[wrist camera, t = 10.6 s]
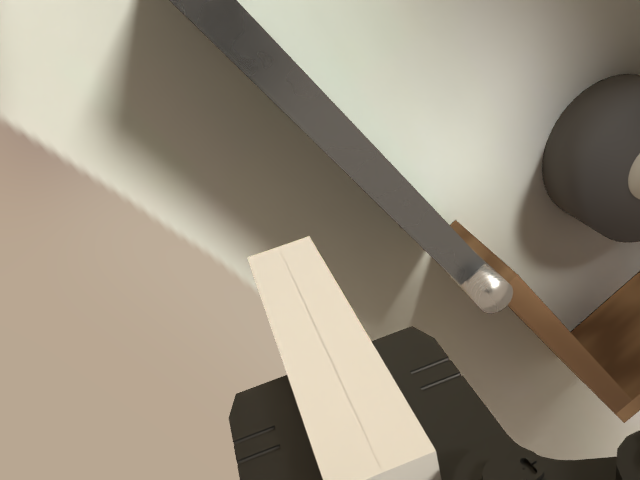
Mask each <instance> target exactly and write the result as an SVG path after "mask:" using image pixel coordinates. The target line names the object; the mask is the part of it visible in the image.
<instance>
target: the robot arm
mask: <svg viewBox="0 0 640 480" xmlns="http://www.w3.org/2000/svg"><path fill="white" fill-rule="evenodd" d="M247 259H248V261H249V264H250V267H251V270H252V273H253V276H254V279H255V282H256V285H257V288H258V291H259V294H260V297H261V300H262V302H263V305H264V308H265V311H266V314H267V317H268V320H269V323H270V326H271V329H272V332H273V335H274V338H275V340H276V344H277V346H278V349H279V352H280V355H281V358H282V361H283V364H284V367H285V370H286V373H287V375H286V376H283V377H280V378H278V379H275V380H272V381H270V382H267V383H264V384H261V385H259V386H256V387H254V388H251V389H248V390H246V391H243V392H240V393H237V394H236V396H235V399H234V402H233V406H232V409H231V412H230V416H229V421H230V427H231V432H232V438H233V442H234V449H235V455H236V460H237V463H238V471H239V477H240V480H640V431H637V432H635V433H633V434H631V435H629V436H627V437H626V438H625V440H624V441H623V442H622V444H621V445H620V446H619V448H618V450H617V457H608V458H596V459H585V460H555V459H550V458H545V457H541V456H539V455H536V454H535V453H534V452H532V451H530V450H528V449H525V448H523V447H521V446H519V445H518V444H516V443H515V442H514V441H513V440H512V439H511V438H510V437H509V436H508V435H507V434H506V432H505V431H504V430H503V428H502V427H501V426H500V424H499V423H498V422H497V420H496V419H495V418H494V416H493V415H492V414H491V413H490V411H489V410H488V409H487V407H486V406H485V405H484V403H483V402H482V401H481V399H480V398H479V397H478V395H477V394H476V393H475V391H474V390H473V389H472V387H471V386H470V385H469V384H468V382H467V381H466V380H465V378H464V377H463V376H461V374H460V372H459V370H458V369H457V368H456V366H455V365H454V364H453V362H452V361H451V360H449V358H448V356H447V355H446V353H445V352H444V351H443V349H442V348H441V347H440V345H439V344H438V343H437V341H436V340H435V339H434V338H433V337H431V336H429V335H427V334H425V333H424V332H422V331H420V330H418V329H416V328H414V327H413V326H412V327H409V328H406V329H404V330H401V331H398V332H396V333H393V334H390V335H388V336H385V337H382V338H380V339H377V340H374V341H371V340H370V338H369V336H368V335H367V333H366V331H365V330H364V328H363V326H362V324H361V323H360V321H359V319H358V318H357V316H356V314H355V313H354V311H353V309H352V308H351V306H350V304H349V302H348V301H347V299H346V297H345V296H344V294H343V292H342V291H341V289H340V287H339V285H338V284H337V282H336V280H335V279H334V277H333V275H332V274H331V272H330V270H329V269H328V267H327V265H326V263H325V262H324V260H323V258H322V257H321V255H320V253H319V252H318V250H317V248H316V247H315V245H314V243H313V241H312V240H311V238H310V236H308V237H305V238H302V239H299V240H296V241H293V242H291V243H288V244H285V245H282V246H279V247H276V248H273V249H270V250H267V251H264V252H261V253H258V254H255V255H253V256H250V257H247Z"/></svg>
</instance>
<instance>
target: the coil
mask: <svg viewBox="0 0 640 480" xmlns="http://www.w3.org/2000/svg"><path fill="white" fill-rule="evenodd" d="M542 173H543V181H544V185H545V188H546V191H547V193H548V195H549V197H550V198H551V200H552V201H553V202H554V203H555V204H556V205H557V206H558V207H559V208H561V209H562V210H563V211H565V212H567V213H568V214H570V215H571V216H573V217H575V218H576V219H578V220H579V221H581V222H583V223H584V224H586V225H587V226H589V227H591V228H592V229H594V230H595V231H597V232H599V233H600V234H602V235H603V236H605V237H607V238H609V239H611V240H615V241H619V242H637V241H640V76H639V75H633V74H623V75H616V76H612V77H609V78H606V79H604V80H601V81H599V82H597V83H595V84H594V85H592V86H590V87H589V88H587V89H586V90H585V91H583V92H582V93H581V94H580V95H578V96H577V97H576V98H575V99H574V100H573V101H572V102H571V103H570V104H569V105H568V107H567V108H566V109H565V110H564V112H563V113H562V114H561V116H560V117H559V119H558V120H557V122H556V123H555V125H554V127H553V129H552V131H551V133H550V136H549V138H548V141H547V143H546V147H545V151H544V156H543V164H542Z"/></svg>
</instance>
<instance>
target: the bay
mask: <svg viewBox="0 0 640 480" xmlns="http://www.w3.org/2000/svg"><path fill="white" fill-rule="evenodd" d="M450 226H451V227H452V228H453V230H454V231H455V232H456V233H457V234H458V235H459V236H460V237H461V238H462V239H463V240H464V241H465V242H466V243H467V244H468V245H469V246H470V247H471V249H472V250H474V251H475V252H476V253H477V254H478V255H479V256H480V257H481V258H482V259H483V260H484V261H485V262H487V263H488V264H489V265H490V266H491V267H492V268H493V269H494V270H495V271H496V272H497V273H499V274H500V275H501V276H502V277H503V278H504V279H505V280H506V281H507V282H508V283H509V284H510V285H511V286H512V288H513V296H512V299H511V301H510V302H509V304H508V307H509V308H510V309H511V310H512V311H513V312H514V313H515V314H516V315H517V316H518V317H519V318H520V319H521V320H522V321H523V322H524V323H525V324H526V325H527V326H528V327H529V328H530V329H531V330H532V331H533V332H534V333H535V334H536V335H537V336H538V337H539V338H540V339H541V340H542V341H543V342H544V343H545V344H546V345H547V346H548V347H549V348H550V349H551V350H552V352H553V353H554V354H555V355H556V356H557V357H558V358H559V359H560V360H561V361H562V362H563V363H564V364H565V365H566V366H567V367H568V368H569V369H570V370H571V371H572V372H573V373H574V374H575V375H576V376H577V377H578V378H579V379H580V380H581V381H582V382H583V383H584V384H586V385H587V386H588V387H589V388H590V389H591V390H592V391H593V392H594V393H595V394H596V395H597V396H598V397H599V398H600V399H601V400H602V401H603V402H604V403H605V404H606V405H607V406H608V407H609V408H610V409H611V410H612V411H613V412H614V413H615V414H616V415H617V416H618V417H619V418H620V419H621V420H622V421H623V422H624V423H625V422H626V421H627V420H628V419H630V418H631V417H632V416H633V415H634V414H636V413H637V412H638V411H639V410H640V272H639V273H637V274H636V275H635V276H634V277H633V278H632V279H631V280H629V281H628V282H627V283H626V284H625V285H624V286H623V287H621V288H620V289H619V290H618V291H617V292H616V293H615V294H614V295H612V296H611V297H610V298H609V299H608V300H607V301H606V302H604V303H603V304H602V305H601V306H600V307H599V308H598V309H596V310H595V311H594V312H593V313H592V314H591V315H590V316H588V317H587V318H586V319H585V320H584V321H583V322H582V323H580V324H579V325H578V326H577V327H576V328H575V329H574V330H573V331H571V332H570V331H569V330H568V329H567V328H566V327H565V326H564V325H563V324H562V323H561V321H560V320H559V319H558V318H557V317H556V316H555V315H554V314H553V313H552V312H551V311H550V309H549V308H548V307H547V306H546V305H545V304H544V303H543V302H542V301H541V300H540V298H539V297H538V296H537V295H536V294H535V293H534V292H533V291H532V290H531V289H530V288H529V286H528V285H527V284H526V283H525V282H524V281H523V280H522V279H521V278H520V277H519V275H518V274H516V273H515V272H514V271H513V270H512V269H511V268H510V267H508V266H507V265H506V264H505V263H504V262H503V261H502V260H500V259H499V258H498V257H497V256H496V255H495V254H494V253H493V252H491V251H490V250H489V249H488V248H487V247H486V246H485V245H483V244H482V243H481V242H480V241H479V240H478V239H477V238H475V237H474V236H473V235H472V234H471V233H470V232H469V231H467V230H466V229H465V228H464V227H463V226H462V225H461V224H459V223H458V222H457V221H456V220H455V221H454V222H453V223H452V224H451V225H450Z"/></svg>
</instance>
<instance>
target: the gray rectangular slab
mask: <svg viewBox="0 0 640 480" xmlns="http://www.w3.org/2000/svg"><path fill="white" fill-rule="evenodd" d="M170 1H171V2H172V3H173V4H174V5H175V6H176V7H177V8H178V9H179V10H180V11H181V12H182V13H183V14H184V15H185V16H186V17H187V18H188V19H189V20H190V21H191V22H192V23H193V24H194V25H195V26H196V27H197V28H198V29H200V30H201V31H202V32H203V33H204V34H205V35H206V36H207V37H208V38H209V39H210V40H211V41H212V42H213V43H214V44H215V45H216V46H217V47H218V48H219V49H220V50H221V51H222V52H223V53H224V54H225V55H226V56H227V57H228V58H229V59H230V60H231V61H232V62H233V63H234V64H235V65H236V66H237V67H238V68H239V69H240V70H241V71H242V72H243V73H244V74H245V75H246V76H248V77H249V78H250V79H251V80H252V81H253V82H254V83H255V84H256V85H257V86H258V87H259V88H260V89H261V90H262V91H263V92H264V93H265V94H266V95H267V96H268V97H269V98H270V99H271V100H272V101H273V102H274V103H275V104H276V105H277V106H278V107H279V108H280V109H281V110H282V111H283V112H284V113H285V114H286V115H287V116H288V117H289V118H290V119H291V120H292V121H293V122H294V123H296V124H297V125H298V126H299V127H300V128H301V129H302V130H303V131H304V132H305V133H306V134H307V135H308V136H309V137H310V138H311V139H312V140H313V141H314V142H315V143H316V144H317V145H318V146H319V147H320V148H321V149H322V150H323V151H324V152H325V153H326V154H327V155H328V156H329V157H330V158H331V159H332V160H333V161H334V162H335V163H336V164H337V165H338V166H339V167H340V168H341V169H342V170H344V171H345V172H346V173H347V174H348V175H349V176H350V177H351V178H352V179H353V180H354V181H355V182H356V183H357V184H358V185H359V186H360V187H361V188H362V189H363V190H364V191H365V192H366V193H367V194H368V195H369V196H370V197H371V198H372V199H373V200H374V201H375V202H376V203H377V204H378V205H379V206H380V207H381V208H382V209H383V210H384V211H385V212H386V213H387V214H388V215H389V216H390V217H392V218H393V219H394V220H395V221H396V222H397V223H398V224H399V225H400V226H401V227H402V228H403V229H404V230H405V231H406V232H407V233H408V234H409V235H410V236H411V237H412V238H413V239H414V240H415V241H416V242H417V243H418V244H419V245H420V246H421V247H422V248H423V249H424V250H425V251H426V252H427V253H428V254H429V255H430V256H431V257H432V258H433V259H434V260H435V261H436V262H437V263H438V264H439V265H440V266H441V267H442V268H443V269H444V270H445V271H446V272H447V273H448V274H449V275H450V276H451V278H452V279H453V280H454V281H455V282H456V283H457V284H458V285H459V286H460V287H461V288H462V289H463V291H464V292H465V293H466V294H467V295H468V296H469V297H470V298H471V299H472V300H473V301H474V302H475V303H476V305H477V306H478V307H479V308H480V309H481V310H482V311H483V312H485V313H496V312H499V311H501V310H502V309H504V308H505V307H506V306H507V305H508V304H509V302H510V301H511V299H512V296H513V288H512V286H511V285H510V284H509V283H508V282H507V281H506V280H505V279H504V278H503V277H502V276H501V275H500V274H499V273H497V272H496V271H495V270H494V269H493V268H492V267H491V266H490V265H489V264H488V263H487V262H485V261H484V260H483V259H482V258H481V257H480V256H479V255H478V254H477V253H476V252H475V251H474V250H472V249H471V247H470V246H469V245H468V244H467V243H466V242H465V241H464V240H463V239H462V238H461V237H460V236H459V235H458V234H457V233H456V232H455V231H454V230H453V228H452V227H451V226H450V225H449V224H448V223H447V222H446V221H445V220H444V219H443V218H442V217H441V216H440V215H439V214H438V213H437V212H436V211H435V209H434V208H433V207H432V206H431V205H430V204H429V203H428V202H427V201H426V200H425V199H424V198H423V197H422V196H421V195H420V194H419V193H418V192H417V190H416V189H415V188H414V187H413V186H412V185H411V184H410V183H409V182H408V181H407V180H406V179H405V178H404V177H403V176H402V175H401V174H400V173H399V171H398V170H397V169H396V168H395V167H394V166H393V165H392V164H391V163H390V162H389V161H388V160H387V159H386V158H385V157H384V156H383V155H382V154H381V152H380V151H379V150H378V149H377V148H376V147H375V146H374V145H373V144H372V143H371V142H370V141H369V140H368V139H367V138H366V137H365V136H364V135H363V133H362V132H361V131H360V130H359V129H358V128H357V127H356V126H355V125H354V124H353V123H352V122H351V121H350V120H349V119H348V118H347V117H346V116H345V114H344V113H343V112H342V111H341V110H340V109H339V108H338V107H337V106H336V105H335V104H334V103H333V102H332V101H331V100H330V99H329V98H328V97H327V95H326V94H325V93H324V92H323V91H322V90H321V89H320V88H319V87H318V86H317V85H316V84H315V83H314V82H313V81H312V80H311V79H310V78H309V76H308V75H307V74H306V73H305V72H304V71H303V70H302V69H301V68H300V67H299V66H298V65H297V64H296V63H295V62H294V61H293V60H292V59H291V57H290V56H289V55H288V54H287V53H286V52H285V51H284V50H283V49H282V48H281V47H280V46H279V45H278V44H277V43H276V42H275V41H274V40H273V38H272V37H271V36H270V35H269V34H268V33H267V32H266V31H265V30H264V29H263V28H262V27H261V26H260V25H259V24H258V23H257V22H256V21H255V19H254V18H253V17H252V16H251V15H250V14H249V13H248V12H247V11H246V10H245V9H244V8H243V7H242V6H241V5H240V4H239V3H238V2H237V0H170Z"/></svg>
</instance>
